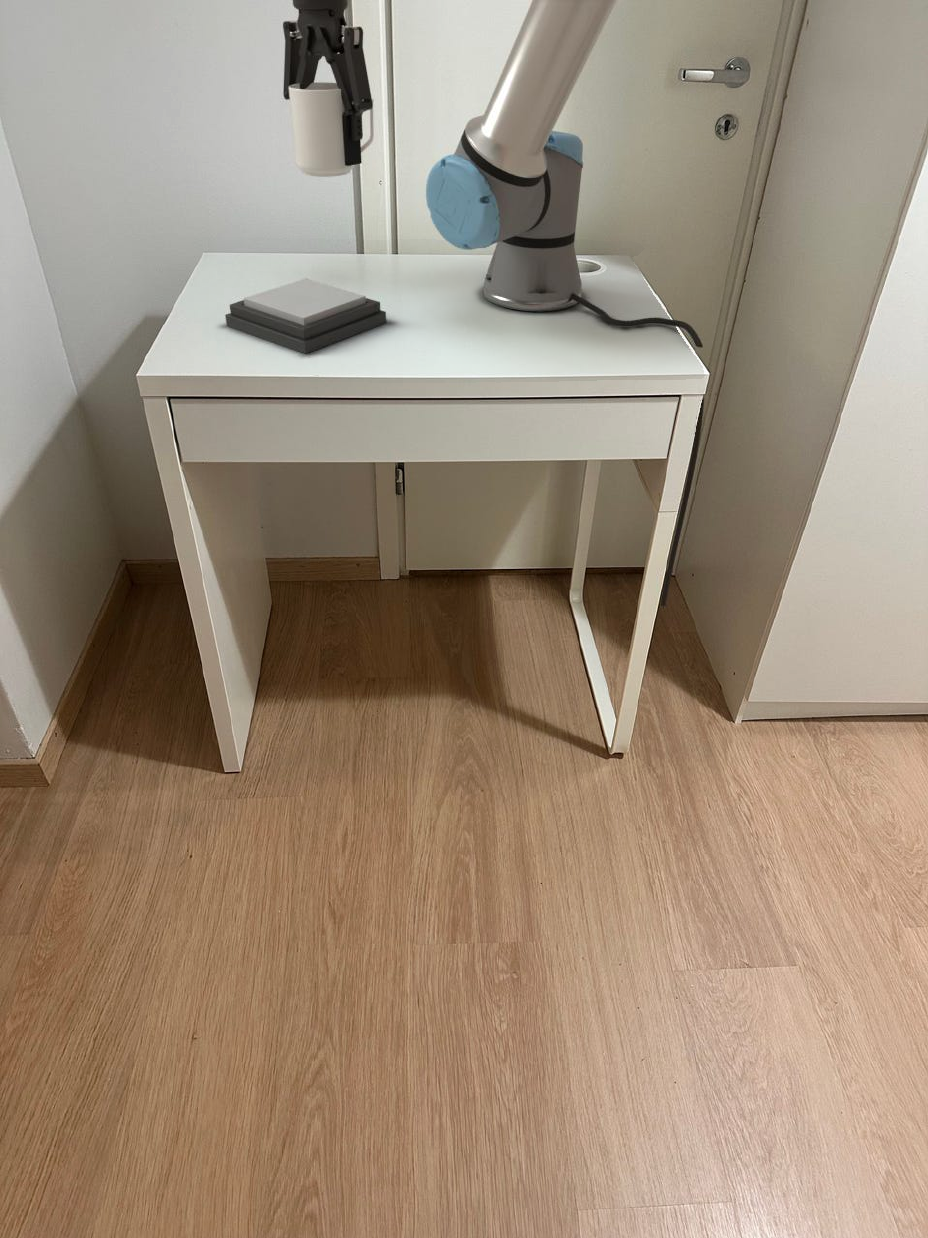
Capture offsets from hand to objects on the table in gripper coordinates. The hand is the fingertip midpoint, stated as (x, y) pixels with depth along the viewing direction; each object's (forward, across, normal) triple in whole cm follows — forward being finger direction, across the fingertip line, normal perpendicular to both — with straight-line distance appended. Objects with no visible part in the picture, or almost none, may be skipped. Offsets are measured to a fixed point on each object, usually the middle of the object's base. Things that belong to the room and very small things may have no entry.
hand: (330, 159), depth 132 cm
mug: (+2, -1, 0) cm, 2 cm away
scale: (+17, -12, +18) cm, 28 cm away
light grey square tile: (+15, -12, +18) cm, 26 cm away
